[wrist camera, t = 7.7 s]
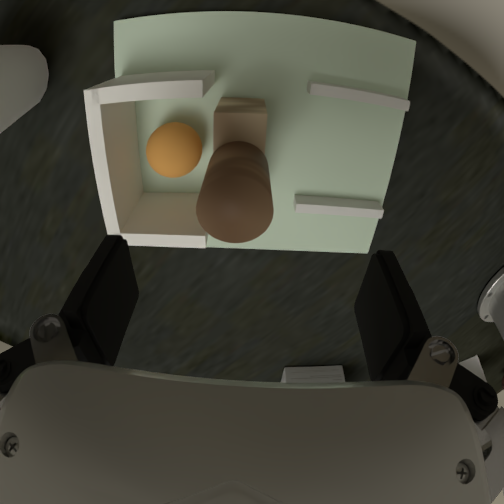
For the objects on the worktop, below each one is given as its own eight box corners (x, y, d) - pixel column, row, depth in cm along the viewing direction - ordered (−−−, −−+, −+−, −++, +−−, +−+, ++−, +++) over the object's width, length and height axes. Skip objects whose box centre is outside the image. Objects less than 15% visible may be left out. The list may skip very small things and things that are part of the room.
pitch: (410, 40, 18) (460, 48, 12) (364, 247, 30) (386, 298, 25) (119, 21, 17) (73, 20, 12) (139, 238, 29) (117, 289, 24)
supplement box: (276, 392, 49) (280, 477, 37) (283, 365, 43) (290, 464, 31) (329, 391, 49) (340, 472, 37) (344, 364, 44) (360, 457, 32)
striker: (268, 99, 20) (280, 142, 13) (262, 185, 25) (267, 270, 17) (217, 97, 20) (193, 138, 12) (216, 184, 25) (199, 267, 17)
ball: (134, 131, 18) (156, 116, 21) (140, 185, 21) (160, 163, 24) (192, 131, 18) (208, 116, 21) (194, 189, 21) (208, 166, 24)
